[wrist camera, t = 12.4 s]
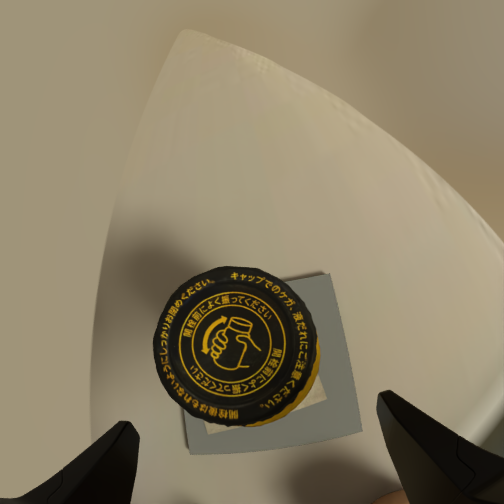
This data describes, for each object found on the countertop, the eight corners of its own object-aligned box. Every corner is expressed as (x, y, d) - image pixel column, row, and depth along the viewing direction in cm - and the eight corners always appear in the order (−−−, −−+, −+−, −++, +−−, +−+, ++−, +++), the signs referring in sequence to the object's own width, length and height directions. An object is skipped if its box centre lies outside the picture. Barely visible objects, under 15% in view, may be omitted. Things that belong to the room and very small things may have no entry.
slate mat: (360, 430, 16) (362, 431, 16) (192, 453, 17) (189, 454, 16) (328, 276, 22) (329, 273, 21) (177, 302, 23) (175, 300, 22)
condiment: (327, 398, 17) (376, 408, 7) (208, 434, 17) (112, 471, 6) (291, 304, 21) (289, 204, 10) (182, 340, 21) (80, 279, 10)
